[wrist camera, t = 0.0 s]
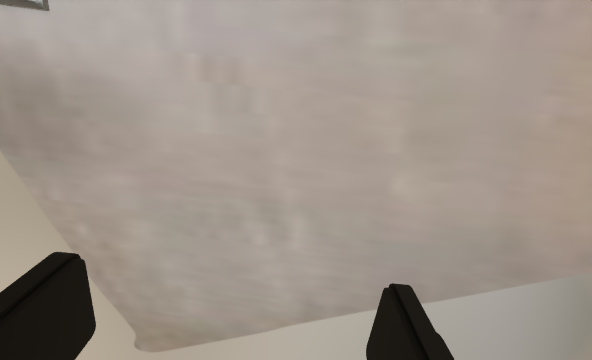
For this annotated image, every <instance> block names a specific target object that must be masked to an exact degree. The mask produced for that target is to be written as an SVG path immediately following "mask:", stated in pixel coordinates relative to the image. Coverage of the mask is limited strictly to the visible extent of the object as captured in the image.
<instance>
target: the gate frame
mask: <svg viewBox="0 0 592 360" xmlns="http://www.w3.org/2000/svg"><path fill="white" fill-rule="evenodd" d="M0 4H3V5H10V6H17V7H25V8H32V9H39V10H46V11H49V6H48V0H0Z"/></svg>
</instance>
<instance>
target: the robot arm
mask: <svg viewBox="0 0 592 360" xmlns="http://www.w3.org/2000/svg"><path fill="white" fill-rule="evenodd" d="M95 327H96V322H95V317H94V311H93V305H92V299H91V293H90V288H89V282H88V276H87V270H86V265H85V261H84V260H83V259H81V258H80V256H79V255H78V254H75V253H65V252H54V253H52V254H50V255H49V256H48V257H46V258H45V259H44V260H42V261H41V262H40V263H39V264H37V265H36V266H35V267H33V268H32V269H31V270H29V271H28V272H27V273H25V274H24V275H23V276H21V277H20V278H19V279H17V280H16V281H15V282H14V283H12V284H11V285H10V286H8V287H7V288H6V289H4V290H3V291H2V292H0V360H75V359H76V357H77V356H78V355H79V353H80V352H81V351H82V349H83V348H84V347H85V345H86V344H87V342H88V341H89V340H90V339H91V337H92V336H93V334H94V331H95ZM366 357H367V360H454V358H453V356H452V355H451V353H450V351H449V349H448V347H447V346H446V344H445V342H444V340H443V339H442V337H441V336H440V335H439V334H438V333H437V332H436V331H435V329H434V328H433V326H432V324H431V322H430V320H429V318H428V317H427V315H426V313H425V311H424V309H423V307H422V306H421V304H420V302H419V300H418V298H417V296H416V294H415V293H414V291H413V289H412V287H411V286H409V285H403V284H393V283H392V284H390V285H389V288H384V290H383V293H382V296H381V300H380V303H379V306H378V310H377V313H376V317H375V320H374V323H373V327H372V330H371V333H370V337H369V340H368V344H367V348H366Z"/></svg>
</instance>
